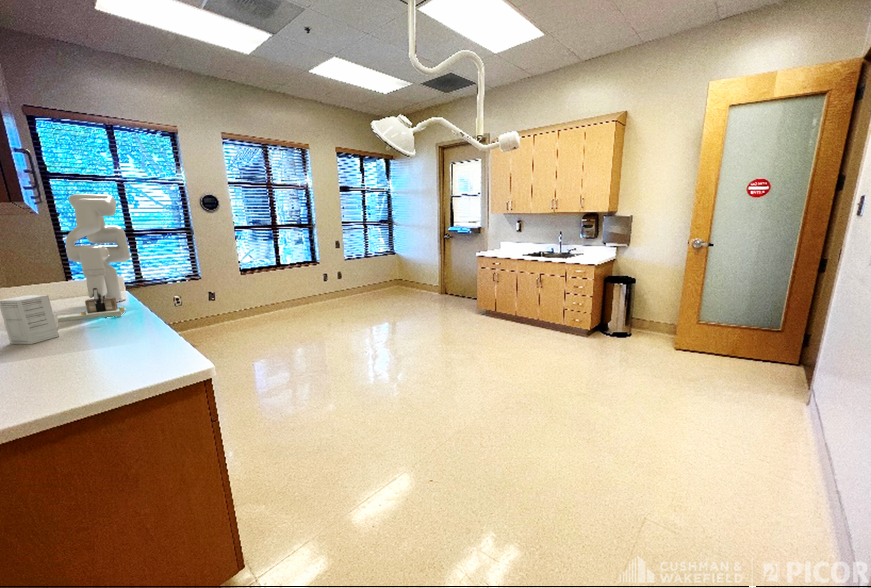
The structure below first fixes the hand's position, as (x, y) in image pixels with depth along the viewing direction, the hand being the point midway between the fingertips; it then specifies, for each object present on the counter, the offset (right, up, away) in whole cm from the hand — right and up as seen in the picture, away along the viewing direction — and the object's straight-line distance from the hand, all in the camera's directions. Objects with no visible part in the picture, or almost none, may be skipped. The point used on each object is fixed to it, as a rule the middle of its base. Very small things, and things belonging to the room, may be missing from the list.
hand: (102, 310), depth 167 cm
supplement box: (+6, -10, -34) cm, 36 cm away
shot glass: (-1, -8, -22) cm, 24 cm away
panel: (-5, -4, -3) cm, 7 cm away
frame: (0, -1, 0) cm, 1 cm away
